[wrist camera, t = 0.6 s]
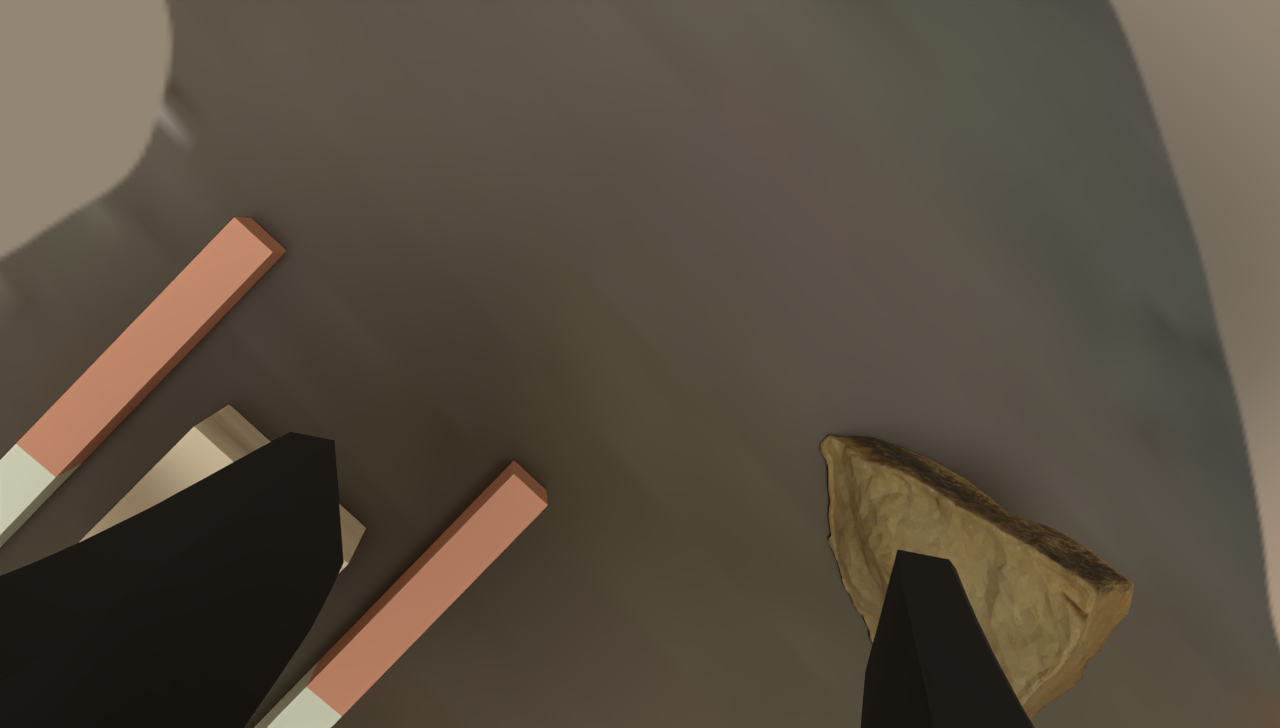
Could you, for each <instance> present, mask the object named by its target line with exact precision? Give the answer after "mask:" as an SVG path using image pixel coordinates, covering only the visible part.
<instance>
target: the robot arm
mask: <svg viewBox="0 0 1280 728" xmlns="http://www.w3.org/2000/svg"><path fill="white" fill-rule="evenodd" d="M343 563H344V560H343V547H342V533H341V520H340V507H339V494H338V481H337V468H336V455H335V442H334V440H329V439H324V438H319V437H313V436H308V435H303V434H298V433H293V432H290V433H288V434H286V435H284V436H282V437H279V438H277V439H275V440H273V441H272V442H270V443H268V444H266V445H264V446H262V447H260V448H258V449H256V450H255V451H253V452H251V453H249V454H247V455H245V456H244V457H242V458H240V459H238V460H236V461H235V462H233V463H231V464H229V465H227V466H226V467H224V468H222V469H220V470H218V471H217V472H215V473H213V474H211V475H209V476H208V477H206V478H204V479H202V480H200V481H198V482H197V483H195V484H193V485H191V486H189V487H187V488H185V489H184V490H182V491H180V492H178V493H176V494H174V495H173V496H171V497H169V498H167V499H165V500H163V501H161V502H160V503H158V504H156V505H154V506H152V507H150V508H148V509H146V510H144V511H142V512H140V513H138V514H136V515H134V516H132V517H130V518H128V519H126V520H124V521H122V522H120V523H118V524H116V525H114V526H112V527H110V528H108V529H106V530H104V531H102V532H100V533H98V534H96V535H94V536H91V537H89V538H87V539H85V540H83V541H81V542H79V543H77V544H75V545H73V546H71V547H69V548H66V549H64V550H62V551H60V552H58V553H55V554H53V555H51V556H48V557H46V558H44V559H41V560H39V561H37V562H34V563H32V564H30V565H27V566H25V567H22V568H20V569H17V570H15V571H12V572H10V573H7V574H5V575H2V576H0V728H244V727H245V725H246V724H247V722H248V721H249V719H250V718H251V716H252V715H253V713H254V712H255V711H256V709H257V708H258V706H259V705H260V703H261V702H262V700H263V699H264V698H265V696H266V695H267V693H268V692H269V690H270V689H271V687H272V686H273V684H274V683H275V682H276V680H277V679H278V677H279V676H280V674H281V673H282V671H283V670H284V668H285V667H286V665H287V664H288V662H289V661H290V659H291V658H292V656H293V655H294V653H295V652H296V650H297V649H298V648H299V646H300V645H301V643H302V641H303V640H304V638H305V637H306V635H307V634H308V632H309V631H310V629H311V627H312V626H313V624H314V622H315V620H316V618H317V616H318V614H319V612H320V610H321V608H322V606H323V604H324V603H325V601H326V599H327V597H328V594H329V592H330V590H331V588H332V586H333V584H334V582H335V580H336V578H337V576H338V574H339V572H340V569H341V567H342V565H343ZM861 728H1034V726H1033V724H1032V723H1031V721H1030V719H1029V717H1028V716H1027V714H1026V712H1025V711H1024V709H1023V707H1022V705H1021V703H1020V702H1019V700H1018V698H1017V696H1016V694H1015V692H1014V690H1013V689H1012V687H1011V685H1010V683H1009V681H1008V679H1007V677H1006V676H1005V674H1004V672H1003V670H1002V668H1001V666H1000V664H999V662H998V661H997V659H996V657H995V655H994V653H993V651H992V649H991V647H990V645H989V642H988V640H987V638H986V636H985V634H984V632H983V630H982V628H981V626H980V624H979V621H978V619H977V617H976V615H975V613H974V610H973V608H972V606H971V604H970V601H969V599H968V597H967V594H966V592H965V590H964V587H963V585H962V582H961V580H960V577H959V575H958V572H957V570H956V568H955V567H954V565H953V564H952V562H951V561H950V560H949V559H945V558H940V557H934V556H929V555H924V554H919V553H914V552H908V551H903V550H897V553H896V557H895V561H894V565H893V569H892V572H891V576H890V580H889V584H888V588H887V592H886V595H885V599H884V603H883V607H882V611H881V615H880V618H879V622H878V626H877V630H876V634H875V638H874V641H873V645H872V649H871V653H870V657H869V660H868V664H867V668H866V672H865V683H864V695H863V707H862V719H861Z"/></svg>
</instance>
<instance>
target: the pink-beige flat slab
mask: <svg viewBox="0 0 1280 728" xmlns="http://www.w3.org/2000/svg"><path fill="white" fill-rule="evenodd" d="M286 251H287V250H285V249H284V248H283V247H282V246H281V245H280V244H279V243H278V242H277V241H276V240H275V239H274V238H272V237H271V236H270V235H269V234H268V233H267V232H266V231H265V230H264V229H263V228H262V227H261V226H259V225H258V224H257V223H256V222H255V221H254V220H253V219H252V218H247V217H234V218H233V219H232V220H231V221H230V222H229V223H228V224H227V225H226V226H225V227H224V228H223V230H222V231H221V232H220V233H219V234H218V235H217V236H216V237H215V238H214V239H213V240H212V241H211V242H210V243H209V244H208V245H207V246H206V247H205V248H204V249H203V250H202V251H201V252H200V253H199V254H198V255H197V256H196V258H195V259H194V260H193V261H192V262H191V263H190V264H189V265H188V266H187V267H186V268H185V269H184V270H183V271H182V272H181V273H180V274H179V275H178V276H177V277H176V278H175V279H174V280H173V281H172V282H171V283H170V285H169V286H168V287H167V288H166V289H165V290H164V291H163V292H162V293H161V294H160V295H159V296H158V297H157V298H156V299H155V300H154V301H153V302H152V303H151V304H150V305H149V306H148V307H147V308H146V309H145V310H144V312H143V313H142V314H141V315H140V316H139V317H138V318H137V319H136V320H135V321H134V322H133V323H132V324H131V325H130V326H129V327H128V328H127V329H126V330H125V331H124V332H123V333H122V334H121V335H120V336H119V337H118V339H117V340H116V341H115V342H114V343H113V344H112V345H111V346H110V347H109V348H108V349H107V350H106V351H105V352H104V353H103V354H102V355H101V356H100V357H99V358H98V359H97V360H96V361H95V362H94V363H93V364H92V366H91V367H90V368H89V369H88V370H87V371H86V372H85V373H84V374H83V375H82V376H81V377H80V378H79V379H78V380H77V381H76V382H75V383H74V384H73V385H72V386H71V387H70V388H69V389H68V390H67V391H66V392H65V394H64V395H63V396H62V397H61V398H60V399H59V400H58V401H57V402H56V403H55V404H54V405H53V406H52V407H51V408H50V409H49V410H48V411H47V412H46V413H45V414H44V415H43V416H42V417H41V418H40V419H39V421H38V422H37V423H36V424H35V425H34V426H33V427H32V428H31V429H30V430H29V431H28V432H27V433H26V434H25V435H24V436H23V437H22V438H21V439H20V440H19V441H18V442H17V443H16V444H15V445H14V446H13V448H12V449H11V450H10V451H9V452H8V453H7V454H6V455H5V456H4V457H3V458H2V459H1V460H0V548H1V547H2V545H3V544H4V543H5V542H6V541H7V540H8V539H9V538H10V537H11V536H12V535H13V534H14V533H15V532H16V531H17V530H18V529H19V528H20V527H21V526H22V525H23V524H24V523H25V522H26V521H27V520H28V519H29V518H30V516H31V515H32V514H33V513H34V512H35V511H36V510H37V509H38V508H39V507H40V506H41V505H42V504H43V503H44V502H45V501H46V500H47V499H48V498H49V497H50V496H51V495H52V494H53V493H54V492H55V491H56V490H57V488H58V487H59V486H60V485H61V484H62V483H63V482H64V481H65V480H66V479H67V478H68V477H69V476H70V475H71V474H72V473H73V472H74V471H75V470H76V469H77V468H78V467H79V466H80V465H81V464H82V463H83V462H84V461H85V459H86V458H87V457H88V456H89V455H90V454H91V453H92V452H93V451H94V450H95V449H96V448H97V447H98V446H99V445H100V444H101V443H102V442H103V441H104V440H105V439H106V438H107V437H108V436H109V435H110V434H111V433H112V431H113V430H114V429H115V428H116V427H117V426H118V425H119V424H120V423H121V422H122V421H123V420H124V419H125V418H126V417H127V416H128V415H129V414H130V413H131V412H132V411H133V410H134V409H135V408H136V407H137V406H138V405H139V404H140V402H141V401H142V400H143V399H144V398H145V397H146V396H147V395H148V394H149V393H150V392H151V391H152V390H153V389H154V388H155V387H156V386H157V385H158V384H159V383H160V382H161V381H162V380H163V379H164V378H165V377H166V376H167V374H168V373H169V372H170V371H171V370H172V369H173V368H174V367H175V366H176V365H177V364H178V363H179V362H180V361H181V360H182V359H183V358H184V357H185V356H186V355H187V354H188V353H189V352H190V351H191V350H192V349H193V348H194V347H195V345H196V344H197V343H198V342H199V341H200V340H201V339H202V338H203V337H204V336H205V335H206V334H207V333H208V332H209V331H210V330H211V329H212V328H213V327H214V326H215V325H216V324H217V323H218V322H219V321H220V320H221V319H222V317H223V316H224V315H225V314H226V313H227V312H228V311H229V310H230V309H231V308H232V307H233V306H234V305H235V304H236V303H237V302H238V301H239V300H240V299H241V298H242V297H243V296H244V295H245V294H246V293H247V292H248V291H249V290H250V288H251V287H252V286H253V285H254V284H255V283H256V282H257V281H258V280H259V279H260V278H261V277H262V276H263V275H264V274H265V273H266V272H267V271H268V270H269V269H270V268H271V267H272V266H273V265H274V264H275V263H276V262H277V260H278V259H279V258H280V257H281V256H282V255H283V254H284V253H285V252H286ZM547 506H548V502H547V492H546V489H545V488H544V487H543V486H541V485H540V484H539V483H538V482H537V481H536V480H535V479H534V478H533V477H532V476H531V475H529V474H528V473H527V472H526V471H525V470H524V469H523V468H522V467H521V466H520V465H519V464H518V463H516V462H515V461H513V462H512V463H511V464H510V465H509V466H508V467H507V468H506V469H505V470H504V471H503V472H502V473H501V474H500V475H499V476H498V477H497V478H496V479H495V480H494V481H493V482H492V483H491V484H490V485H489V486H488V488H487V489H486V490H485V491H484V492H483V493H482V494H481V495H480V496H479V497H478V498H477V499H476V500H475V501H474V502H473V503H472V504H471V505H470V506H469V507H468V508H467V509H466V510H465V511H464V512H463V513H462V514H461V515H460V516H459V517H458V518H457V519H456V520H455V521H454V522H453V523H452V525H451V526H450V527H449V528H448V529H447V530H446V531H445V532H444V533H443V534H442V535H441V536H440V537H439V538H438V539H437V540H436V541H435V542H434V543H433V544H432V545H431V546H430V547H429V548H428V549H427V550H426V551H425V552H424V553H423V554H422V555H421V556H420V557H419V558H418V559H417V560H416V561H415V563H414V564H413V565H412V566H411V567H410V568H409V569H408V570H407V571H406V572H405V573H404V574H403V575H402V576H401V577H400V578H399V579H398V580H397V581H396V582H395V583H394V584H393V585H392V586H391V587H390V588H389V589H388V590H387V591H386V592H385V593H384V594H383V595H382V596H381V597H380V598H379V600H378V601H377V602H376V603H375V604H374V605H373V606H372V607H371V608H370V609H369V610H368V611H367V612H366V613H365V614H364V615H363V616H362V617H361V618H360V619H359V620H358V621H357V622H356V623H355V624H354V625H353V626H352V627H351V628H350V629H349V630H348V631H347V632H346V633H345V634H344V635H343V636H342V638H341V639H340V640H339V641H338V642H337V643H336V644H335V645H334V646H333V647H332V648H331V649H330V650H329V651H328V652H327V653H326V654H325V655H324V656H323V657H322V658H321V659H320V660H319V661H318V662H317V663H316V664H315V665H314V666H313V667H312V668H311V669H310V670H309V671H308V672H307V673H306V674H305V676H304V677H303V678H302V679H301V680H300V681H299V682H298V683H297V684H296V685H295V686H294V687H293V688H292V689H291V690H290V691H289V692H288V693H287V694H286V695H285V696H284V697H283V698H282V699H281V700H280V701H279V702H278V703H277V704H276V705H275V706H274V707H273V708H272V709H271V710H270V711H269V713H268V714H267V715H266V716H265V717H264V718H263V719H262V720H261V721H260V722H259V723H258V724H257V725H256V726H255V727H254V728H331V727H332V726H333V725H334V724H335V723H336V722H337V721H338V720H339V719H340V718H341V717H342V716H343V715H344V714H345V713H346V712H347V711H348V710H349V709H350V708H351V707H352V706H353V705H354V704H355V702H356V701H357V700H358V699H359V698H360V697H361V696H362V695H363V694H364V693H365V692H366V691H367V690H368V689H369V688H370V687H371V686H372V685H373V684H374V683H375V682H376V681H377V680H378V679H379V678H380V677H381V676H382V675H383V674H384V673H385V672H386V671H387V670H388V669H389V668H390V667H391V666H392V665H393V664H394V662H395V661H396V660H397V659H398V658H399V657H400V656H401V655H402V654H403V653H404V652H405V651H406V650H407V649H408V648H409V647H410V646H411V645H412V644H413V643H414V642H415V641H416V640H417V639H418V638H419V637H420V636H421V635H422V634H423V633H424V632H425V631H426V630H427V629H428V628H429V627H430V626H431V625H432V624H433V622H434V621H435V620H436V619H437V618H438V617H439V616H440V615H441V614H442V613H443V612H444V611H445V610H446V609H447V608H448V607H449V606H450V605H451V604H452V603H453V602H454V601H455V600H456V599H457V598H458V597H459V596H460V595H461V594H462V593H463V592H464V591H465V590H466V589H467V588H468V587H469V586H470V585H471V584H472V582H473V581H474V580H475V579H476V578H477V577H478V576H479V575H480V574H481V573H482V572H483V571H484V570H485V569H486V568H487V567H488V566H489V565H490V564H491V563H492V562H493V561H494V560H495V559H496V558H497V557H498V556H499V555H500V554H501V553H502V552H503V551H504V550H505V549H506V548H507V547H508V546H509V545H510V544H511V542H512V541H513V540H514V539H515V538H516V537H517V536H518V535H519V534H520V533H521V532H522V531H523V530H524V529H525V528H526V527H527V526H528V525H529V524H530V523H531V522H532V521H533V520H534V519H535V518H536V517H537V516H538V515H539V514H540V513H541V512H542V511H543V510H544V509H545V508H546V507H547Z"/></svg>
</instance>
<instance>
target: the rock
mask: <svg viewBox="0 0 1280 728" xmlns="http://www.w3.org/2000/svg"><path fill="white" fill-rule="evenodd" d="M820 447H821V453H822V454H823V456H824V458H825V460H826V463H827V466H828V489H829V496H830V506H829V514H828V517H829V524H830V530H831V536H830V538H829V544H830V546H831V548H832V550H833V552H834V554H835V558H836V560H837V561H838V565H839V568H840V573H841V575H842V581H843V584H844V586H845V589H846V591H848V592H849V593H850V595H851V598H852V600H853V604H854V606H855V608H856V609H857V611H858V612H859V613H860V614H862V615H863V617H864V620H865V623H866V625H867V627H868V629H869V631H870V639H871V641H872V643H873V641H874V638H875V634H876V630H877V626H878V622H879V618H880V615H881V611H882V607H883V603H884V599H885V595H886V592H887V588H888V584H889V580H890V576H891V572H892V569H893V565H894V561H895V557H896V553H897V550H903V551H908V552H914V553H919V554H924V555H929V556H934V557H940V558H945V559H949V560H950V561H951V562H952V564H953V565H954V567H955V568H956V570H957V572H958V575H959V577H960V580H961V582H962V585H963V587H964V590H965V592H966V594H967V597H968V599H969V601H970V604H971V606H972V608H973V610H974V613H975V615H976V617H977V619H978V621H979V624H980V626H981V628H982V630H983V632H984V634H985V636H986V638H987V640H988V642H989V645H990V647H991V649H992V651H993V653H994V655H995V657H996V659H997V661H998V662H999V664H1000V666H1001V668H1002V670H1003V672H1004V674H1005V676H1006V677H1007V679H1008V681H1009V683H1010V685H1011V687H1012V689H1013V690H1014V692H1015V694H1016V696H1017V698H1018V700H1019V702H1020V703H1021V705H1022V707H1023V709H1024V711H1025V712H1026V714H1027V716H1028V717H1029V719H1031V718H1033V717H1034V716H1035V715H1036V714H1037V713H1038V712H1040V710H1041V709H1042V708H1043V707H1044V706H1046V704H1048V703H1049V702H1050V701H1052V700H1055V699H1057V698H1058V697H1059V696H1060V695H1062V694H1064V693H1065V692H1067V691H1068V690H1069V689H1070V688H1071V687H1073V686H1074V685H1076V684H1077V683H1078V682H1079V681H1080V680H1081V679H1082V677H1083V675H1084V672H1085V668H1086V664H1087V663H1088V661H1089V660H1090V659H1092V658H1093V657H1094V656H1095V655H1096V654H1097V653H1098V652H1099V651H1100V650H1101V648H1102V647H1103V646H1104V644H1105V643H1106V641H1107V640H1108V639H1109V637H1110V636H1111V634H1112V633H1113V631H1114V630H1115V628H1116V627H1117V625H1118V624H1119V622H1120V621H1121V620H1122V619H1123V618H1124V617H1125V616H1126V615H1127V613H1128V611H1129V607H1130V603H1131V598H1132V592H1133V588H1134V585H1133V583H1132V581H1130V580H1129V579H1127V578H1126V577H1125V576H1123V575H1122V574H1120V573H1119V572H1117V571H1115V570H1114V569H1112V568H1111V567H1110V566H1109V565H1108V564H1107V563H1106V562H1105V561H1103V560H1102V559H1101V558H1099V557H1098V556H1097V555H1095V554H1094V553H1093V552H1092V551H1090V550H1089V549H1088V548H1086V547H1085V546H1083V545H1081V544H1079V543H1078V542H1076V541H1075V540H1073V539H1071V538H1070V537H1068V536H1066V535H1065V534H1063V533H1061V532H1059V531H1057V530H1055V529H1053V528H1050V527H1048V526H1045V525H1042V524H1039V523H1035V522H1031V521H1027V520H1025V519H1023V518H1020V517H1018V516H1015V515H1012V514H1010V513H1008V512H1006V511H1005V510H1003V509H1002V508H1001V507H1000V506H999V505H998V504H997V503H996V502H995V501H994V500H992V499H991V498H990V497H989V496H987V495H986V494H985V493H983V492H982V491H980V490H979V489H978V488H977V487H975V486H974V485H973V484H972V483H970V482H969V481H968V480H966V479H965V478H963V477H961V476H959V475H957V474H955V473H953V472H952V471H950V470H948V469H947V468H945V467H944V466H942V465H940V464H939V463H937V462H935V461H933V460H931V459H928V458H926V457H924V456H921V455H919V454H917V453H914V452H911V451H909V450H907V449H904V448H901V447H898V446H895V445H893V444H890V443H888V442H885V441H882V440H879V439H874V438H866V437H835V436H832V435H829V436H827V437H826V438H825V439H824V440H823V441H822V442H821V445H820Z"/></svg>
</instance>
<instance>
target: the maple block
mask: <svg viewBox="0 0 1280 728" xmlns="http://www.w3.org/2000/svg"><path fill="white" fill-rule="evenodd" d="M268 443H270V441H269V440H268V439H267V438H266V437H265V436H264V435H263V434H261V433H260V432H259V431H258V430H257V429H256V428H255V427H254V426H253V425H252V424H250V423H249V422H248V421H247V420H246V419H245V418H244V417H243V416H242V415H240V414H239V413H238V412H237V411H236V410H235V409H234V408H233V407H232V406H230V405H227V406H226V407H224V408H223V409H221V410H219V411H218V412H216V413H215V414H213V415H211V416H210V417H208V418H207V419H205V420H203V421H202V422H200V423H199V424H197V425H196V426H194V427H193V428H192V429H191V430H190V431H189V432H188V433H187V434H186V435H185V436H184V437H183V438H182V439H181V440H180V441H179V442H178V443H177V444H176V445H175V446H174V447H173V448H172V449H171V450H170V451H169V452H168V453H167V454H166V455H165V456H164V457H163V458H162V459H161V460H160V461H159V462H158V463H157V464H156V465H155V466H154V467H153V468H152V469H151V470H150V471H149V472H148V473H147V474H146V475H145V476H144V477H143V478H142V479H141V480H140V481H139V482H138V483H137V484H136V485H135V486H134V487H133V488H132V489H131V490H130V491H129V492H128V493H127V494H126V495H125V496H124V497H123V498H122V499H121V500H120V501H119V503H118V504H117V505H116V506H115V507H114V508H113V509H112V510H111V511H110V512H109V513H108V514H107V515H106V516H105V517H104V518H103V519H102V520H101V521H100V522H99V523H98V524H97V525H96V526H95V527H94V528H93V529H92V530H91V531H90V532H89V533H88V534H87V535H86V536H85V537H84V538H83V539H82V540H81V541H83V540H85V539H87V538H89V537H91V536H94V535H96V534H98V533H100V532H102V531H104V530H106V529H108V528H110V527H112V526H114V525H116V524H118V523H120V522H122V521H124V520H126V519H128V518H130V517H132V516H134V515H136V514H138V513H140V512H142V511H144V510H146V509H148V508H150V507H152V506H154V505H156V504H158V503H160V502H161V501H163V500H165V499H167V498H169V497H171V496H173V495H174V494H176V493H178V492H180V491H182V490H184V489H185V488H187V487H189V486H191V485H193V484H195V483H197V482H198V481H200V480H202V479H204V478H206V477H208V476H209V475H211V474H213V473H215V472H217V471H218V470H220V469H222V468H224V467H226V466H227V465H229V464H231V463H233V462H235V461H236V460H238V459H240V458H242V457H244V456H245V455H247V454H249V453H251V452H253V451H255V450H256V449H258V448H260V447H262V446H264V445H266V444H268ZM339 507H340V520H341V533H342V547H343V560H344V563H343V565H342V567H341V569H340V572H341V571H342V570H343V569H344V568H345V567H346V566H347V565H348V564H349V562H350V560H351V558H352V556H353V554H354V552H355V550H356V548H357V546H358V544H359V542H360V540H361V538H362V536H363V534H364V532H365V530H366V527H364V526H363V525H362V524H361V523H360V522H359V521H358V520H357V519H356V518H355V517H353V516H352V515H351V514H350V513H349V512H348V511H347V510H346V509H345V508H343V507H342V506H341V505H340V504H339ZM81 541H80V542H81ZM340 572H339V573H340Z"/></svg>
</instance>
